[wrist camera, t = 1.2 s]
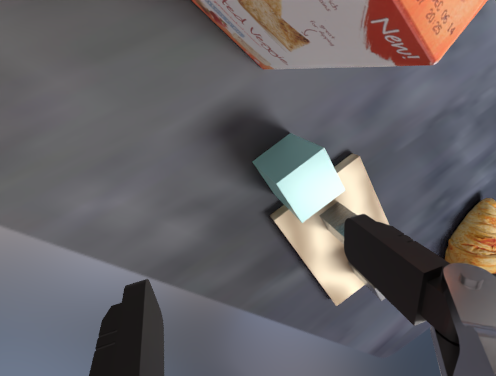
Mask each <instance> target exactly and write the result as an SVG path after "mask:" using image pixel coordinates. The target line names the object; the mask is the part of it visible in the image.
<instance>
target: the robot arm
mask: <svg viewBox="0 0 496 376" xmlns="http://www.w3.org/2000/svg"><path fill="white" fill-rule="evenodd" d="M344 252H345V255H346V257H347V259H348V261H349V262H350V263H351V264H352V265H353V266H354V267H355V268H356V269H357V270H358V271H359V272H360V273H361V274H362V275H363V276H364V277H365V278H366V279H367V280H368V281H369V282H370V283H371V284H372V285H373V286H374V287H375V288H376V289H377V290H378V291H379V292H380V293H381V294H382V295H383V296H384V297H385V298H386V299H387V300H388V301H389V302H390V303H391V304H392V305H393V306H395V307H396V308H397V309H398V310H399V311H400V312H401V313H402V314H403V315H404V316H405V317H406V318H407V319H408V320H409V321H410V322H411V323H412V324H413V325H414V326H415V325H417V324H420V323H422V322H424V321H427V322H429V323H430V324H431V330H430V331H431V336H432V340H433V344H434V347H435V352H436V356H437V360H438V364H439V368H440V371H441V375H442V376H496V273H494V274H491V273H490V272H488V271H487V270H485V269H483V268H480V267H478V266H475V265H471V264H467V263H452V264H450V263H449V262H447V261H446V260H444V259H443V258H441V257H439V256H438V255H436V254H435V253H433V252H432V251H430V250H429V249H427V248H425V247H424V246H422V245H421V244H419V243H418V242H416V241H413V239H411V238H410V237H408V236H407V235H404V233H402V232H401V231H399V230H397V229H396V228H394V227H393V226H390V225H387V224H384V223H381V222H377V221H375V220H374V219H372V218H371V217H369V216H368V215H366V214H360V215H357V216H354V217H351V218H347V219H346V220H345V223H344ZM89 376H164V327H163V319H162V314H161V310H160V308H159V305H158V302H157V299H156V297H155V294H154V292H153V289H152V286H151V284H150V282H149V280H148V279H146V280H143V281H139V282H136V283H133V284H130V285H126V286H125V288H124V293H123V299H122V303H120V304H116V305H113V306H111V308H110V309H109V311H108V312H107V314H106V315H105V317H104V318H103V320H102V323H101V327H100V332H99V338H98V340H97V344H96V351H95V353H94V357H93V361H92V365H91V370H90V374H89Z"/></svg>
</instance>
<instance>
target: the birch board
mask: <svg viewBox="0 0 496 376" xmlns="http://www.w3.org/2000/svg"><path fill="white" fill-rule="evenodd" d="M334 168H335V170H336V172H337V174H338V176H339V178H340V180H341V182H342V184H343V186H344V188H345V191H344V192H343V193H341V194H340V195H339V196H337V197H336V198H335V199H333V200H332V201H331V202H329V203H328V204H327V205H325V206H324V207H323V208H321V209H320V210H319V211H317V212H316V213H315V214H314V215H312V216H311V217H310V218H308V219H307V220H306V221H304V222H303V223H302V222H301V221H300V220H299V219H298V218H297V217H296V216H295V215H294V214H293V213H292V212H291V211H290V210H289V209H288V208H287V207H286V206H285V205H283V206H282V207H280V208H279V209H278V210H276V211H275V212H274V213H272V214H271V215H270V216H271V218H272V219H273V220H274V222H275V223H276V224H277V226H278V227H279V228H280V230H281V231H282V233H283V234H284V235H285V237H286V238H287V239H288V241H289V242H290V243H291V245H292V246H293V248H294V249H295V250H296V252H297V253H298V254H299V256H300V257H301V258H302V260H303V261H304V263H305V264H306V265H307V267H308V268H309V269H310V271H311V272H312V273H313V275H314V276H315V278H316V279H317V280H318V282H319V283H320V284H321V286H322V287H323V288H324V290H325V291H326V293H327V294H328V295H329V297H330V298H331V299H332V301H333V302H334V303H335V305H336V306H337V305H339V304H340V303H341V302H343V301H344V300H345V299H347V298H348V297H349V296H351V295H352V294H353V293H355V292H356V291H357V290H358V289H360V288H361V287H362V286H364V285H365V284H364V283H363V282H362V281H361V280H360V279H359V278H358V277H357V276H356V275H355V274H354V272H353V271H352V269H351V267H350V266H349V264H348V259H347V257H346V255H345V252H344V244H343V243H341V242H340V241H339V240H338V239H337V238H336V237H335V236H334V235H333V234H332V233H330V232H329V231H328V229H327V228H326V226H325V224H324V223H323V221H322V219H321V218H320V216H319V215H321V214H322V213H323V212H325V211H326V210H327V209H329V208H330V207H331V206H333V205H334V204H335V203H337V202H339V203H341V204H342V205H343V206H345V207H346V208H348V209H349V210H351V211H352V212H353V213H355V214H356V215H360V214H366V215H368V216H369V217H371V218H372V219H374V220H375V221H377V222H381V223H384V224H387V225H389V223H388V221H387V219H386V216H385V214H384V212H383V209H382V207H381V205H380V202H379V200H378V198H377V195H376V193H375V191H374V188H373V186H372V184H371V181H370V179H369V177H368V174H367V172H366V170H365V167H364V165H363V163H362V160H361V158H360V156H358V155H355V154H353V153H352V154H351V155H349V156H348V157H347V158H345V159H344V160H343V161H342V162H340V163H339V164H338V165H336V166H335V167H334Z"/></svg>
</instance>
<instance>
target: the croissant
mask: <svg viewBox="0 0 496 376" xmlns="http://www.w3.org/2000/svg"><path fill="white" fill-rule="evenodd" d="M495 208H496V201H495V200H494V199H493V198H492V199H491V198H485V199H483V200H481V201H480V202H479V203H478V204H477V205H475V207H474V208H473V209H472V210H471V211H470V212H469V213H468V214H467V215H466V217H465V218H464V219H463V221H462V222H461V223H460V225H459V226H458V227H457V229H456V230H455V232H454V233H453V235H452V236H451V238H450V239H449V240H448V243H449V244H448V247H447V250H446V253H445V260H446V261H447V262H449V263H450V264H452V263H467V264H471V265H475V266H478V267H480V268H483V269H485V270H487V271H488V272H490V273H491V274H494V273H496V211H495Z"/></svg>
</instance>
